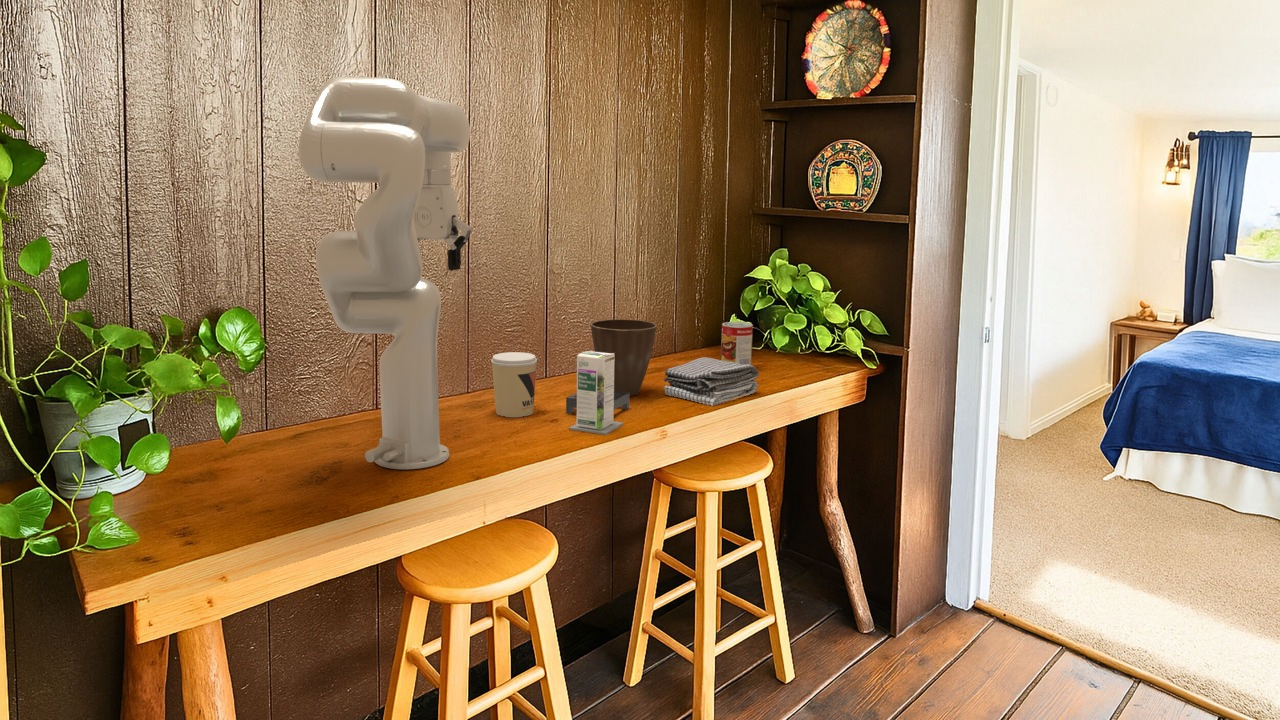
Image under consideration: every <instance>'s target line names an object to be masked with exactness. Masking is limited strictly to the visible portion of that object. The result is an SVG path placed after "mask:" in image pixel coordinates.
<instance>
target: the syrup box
mask: <svg viewBox="0 0 1280 720" xmlns="http://www.w3.org/2000/svg"><path fill="white" fill-rule="evenodd" d="M614 358H615V355H614V354H613V353H601V352H595V351H593V350H589V351H587V350H586V351H583V352H581V353H579V354H577V356H576V393H577V408H576V417H575V419H576V420H575V421H576V423H575V424H576V426H577V427H585V428H591V429H598V430H602V429H604V428H606V427H608V426H609V425H611V424H613V421H614V412H615V410H614Z"/></svg>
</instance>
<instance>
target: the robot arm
mask: <svg viewBox="0 0 1280 720" xmlns="http://www.w3.org/2000/svg"><path fill="white" fill-rule="evenodd" d="M469 121H470V120H469V118H468V116H467V114H466V112H465V111H464V110H463V109H462V108H461V106H460V105H458V104H456V103H452V102H448V101H444V100H440V99H436V98H432V97H429V96H427V95H420V94H417V93H416V92H415V91H414V90H413V89H412V88H411V87H409V86H408V85H407V84H406V83H404V82H403V81H401V80H398V79H396V78H395V79H394V78H390V77H378V76H377V77H374V76H373V77H369V76H368V77H367V76H334V77H331V78H330V79H327V81H325V82H324V83H323V84H322V86H320V88H319V90H318V91H317V94H316V95H315V97H314V99H313V101H312V103H311V106H310V109H309V112H308V114H307V116H306V118H305V122H304V124H303V126H302V129H301V132H300V136H299V142H298V157H299V161H300V165H301V168H302V169H303V171H304V172H305V174H306V175H307V176H308V177H310V178H311V179H313V180H316V181H318V182H325V183H362V184H364V183H366V184H367V183H368V184H369V183H371V184H372V183H373V184H374V183H375V184H380V185H379V186H378V187H377V188H376V189H375V190H374V191H373V192H372V193H370V194H369V195H368V196H367V198H365V199H364V201H363V202H362V203H361V204H360V206H359V208H357V210H356V212H355V215H354V217H353V220H354V221H353V223H354V224H353V225H354V229H355V230H337V231H333V232H329V233H327V234H325V235H324V236H323V237H322V238H321V239H320V241H319V243H318V245H317V248H316V252H315V253H316V255H315V268H316V272H317V278H318V281H319V285H320V287H321V290H322V293H323V295H324V297H325V300H326V302H327V305H328V307H329V310H330V312H331V313H330V314H331V315H332V319H333V320H334V322H335V324H336V326H337V327H338V328H339V329H340V330H341V331H344V332H346V333H351V334H379V335H380V334H381V335H382V334H383V335H384V334H385V335H393V336H394V338H393V340H392V341H391V342H390V343H389V344H388V346H386V347H385V349H384V351H383V352H382V353H381V354H380V355H381V356H380V358H379V365H378V366H379V367H378V368H379V384H380V385H379V387H380V388H379V389H380V407H381V408H380V410H381V411H380V412H381V431H382V435H381V436H382V437H380V438H378V439H379V440H378V441H379V444H378V445H377V447H376V448H372V449H369V450H367V451H366V452H365V454H364V457H365V460H366V462H368V463H373V462H374V463H375V464H377V465H378V466H380V467H382V468H386V469H393V470H416V469H417V470H419V469H425V468H429V467H434V466H437V465H440V464H441V463H444V462H446V461H447V460H448V459H449V457H450V450H449V448H448V447H447V446H445V445H444V444H441V443H440V442H441V441H440V439H441V438H440V414H439V413H440V412H439V410H440V409H439V377H438V373H439V372H438V333H439V323H440V316H441V309H442V308H441V307H442V299H441V298H442V297H441V292H440V290H439V288H438V286H437V285H436V284H435V283H434V282H432V281H431V280H429V279H426V278H422V277H423V272H424V269H423V267H424V266H423V265H424V264H423V258H422V253H421V248H420V244H419V242H420V241H421V239H422V240H437V241H438V240H444V241H445V243H446V244H447V245H448V247H449V249H448V250H447V269H448V271H458V270H460V269H461V264H462V251H461V250H463V249H464V246H465V245H466V243H467V242H468V241H469V237H470V235H471V233H472V227H471V226H470V224H467V223H466V222H465V221H463V220H462V219H460V217H459V210H458V209H459V208H458V203H457V202H458V201H457V197H456V196H457V195H456V193H455V189H454V187H452V170H451V169H452V167H451V165H452V162H451V153H461V152H463V151H465V150H466V149H467V147H468V146H469V143H470V140H471V126H470V122H469ZM459 231H460V235H459Z"/></svg>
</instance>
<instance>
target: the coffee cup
mask: <svg viewBox="0 0 1280 720" xmlns="http://www.w3.org/2000/svg"><path fill="white" fill-rule="evenodd" d="M490 363H491V364H492V365H491V368H492V379H493V380H492V381H493V393H494V394H493V395H494V403H495V412H496V415H498V416H500V415H501V416H500V417H503V416H505V417H506V418H523V416H524V417H527V416H531V415H533V413H534V407H535V406H534V405H535V392H536V378H537V377H536V375H537V363H538V359H537V357H536V355H535V354H533V353H530V352H529V353H528V352H519V351H516V352H515V351H513V352H512V351H509V352H500V353H496V354H494V355H493V356H492V358H491V362H490Z"/></svg>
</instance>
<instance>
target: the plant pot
mask: <svg viewBox="0 0 1280 720" xmlns="http://www.w3.org/2000/svg"><path fill="white" fill-rule="evenodd" d="M590 329H591V336H592V344H593V350H594V352H601V353H613V354H614V355H615V358H614V391H622V392H630V397H631V396H635V395H638V394H639V393H640V391H641V390H640V389H641V388H642V384H643V382H644V380H645V377H646V374H647V371H648V368H649V364H650V362H651V361H650V360H651V357H652V353H653V348H654V343H655V338H656V337H655V336H656V332H657V324H656V323H654V322H651V321H646V320H640V319H622V318H621V319H620V318H619V319H618V318H617V319H603V320H596V321H593V322H591V323H590Z"/></svg>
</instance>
